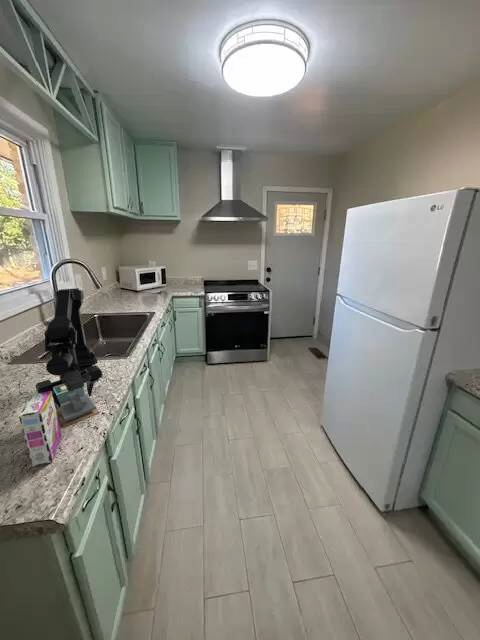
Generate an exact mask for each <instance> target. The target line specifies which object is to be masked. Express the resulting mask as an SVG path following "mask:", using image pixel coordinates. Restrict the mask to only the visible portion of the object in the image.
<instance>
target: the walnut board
mask: <svg viewBox="0 0 480 640" xmlns="http://www.w3.org/2000/svg"><path fill="white" fill-rule="evenodd" d="M89 399H90V400H91V398H90V397H89ZM92 403H93V404H94V402H93V401H92ZM95 407H96V409H94V410H92V411H91V412H89V413H87V414H84V415H82V416H79V417H77V418H74V419H72V420H70V421H69V420H67V421H65V420H64V418H63V416H62V414H61V412H60V410H59V409H58V408H57V409H56V413H57V417H58V420H59V422H60V423H61V425H62V427H63V428H66V427H70V426H72V425H74V424H77V423H78V422H81V421H84V420H86V419H89V418H90V417H93V416H96V415H99V414H100V413H101V412H100V411H99V408H97V406H96V405H95Z"/></svg>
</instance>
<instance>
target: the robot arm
mask: <svg viewBox="0 0 480 640" xmlns="http://www.w3.org/2000/svg"><path fill="white" fill-rule="evenodd" d="M54 293H55V299H56V300H55V301H56V304H55V309H54V316H53V317H54V318H53V319H52V320H50V321H49V322H48V324H47V326H46V327H47V328H46V329H45V330H44V352H45V353H46V352H47V353H48V352H51V356H50V358H49V359H48V361H47V363H46V366H45V368H46V371H47V373H49V374H50V375H52V376H59V379H58V380H56V381H55V380H54V381H53V382H52V381H51V379H47V380H46V379H45V380H43V381H39V382H37V383H36V384H35V390H36V393H42V392H48V391H52V395H53V399H54V401H55V402H54V404H55V403H56V404H57V405H58V406H59V408H61V405H60V402H59V400H58V398H57V395H56V393H55V391H54V389H53V388H56V387H59V386H62V385H66V388H67V390H68V391H73V390H75V389H78V388H82V387H83V388H84V387H85V385H86V389H87V396H88V397H89V398H90V397H92V392H93V389H94V386H95V385H94V384H95V383H96V382H97V381H99V379H100V378H103V377H104V375H103V371H102V369H101V368H100V367H99V366H97V364H98V363H99V362H98V358H97V355H96V353H95V352H94V351H93V349H92V346H91V345H90V344H89V343H87V341H86V335H85V329H84V324H83V318H82V313H81V308H82V306H83V304H84V299H85V295H84V291H83V290H82V289H81V290H80V287H79V288H78V287H77V288H62V289H57V290H56V291H55V292H54ZM85 383H86V384H85ZM56 404H55V405H56ZM57 405H56V406H57Z"/></svg>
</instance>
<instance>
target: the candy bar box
mask: <svg viewBox="0 0 480 640" xmlns="http://www.w3.org/2000/svg"><path fill="white" fill-rule="evenodd" d="M56 410H57V409H56V404H55V402H54V399H53V395H52V391H48V392H42V393H37V392H36V393H33V394H32V395H31V397H30V398H29V399H28V401H27V402H26V404H25V405H24V407H23V409H22V410H21V411H20V413H19V414H18V419H19V422H20V426H21V429H22V433H23V436H24V441H25V445H26V448H27V451H28V455H29V460H30V463H31V467H32V468H33V467H34V468H35V467H38V466H43V465H47V464H51V463H52V462H53V461H54V458H55V455H56V453H57V450H58V447H59V445H60V441H61V439H62V432H61V428H60V423H59V422H60V421H59V417H58V415H57V413H56Z"/></svg>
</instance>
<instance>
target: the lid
mask: <svg viewBox="0 0 480 640" xmlns="http://www.w3.org/2000/svg"><path fill="white" fill-rule="evenodd" d="M68 397H69V401H68V402H65V403H62V404H60V405H61V408H59V406H58V405H56V407H57V406H58V407H57V409H59V410H60V412H61V414H62V416H63V418H64V420H65V421H67V420H69V421H70V420H72V419H74V418H77V417H79V416H82V415H84V414H87V413H89V412H91V411H92V410H94V409H96V408H97V406H96V405H95V404H94V402H93V401H92V399H91V398H90V397H89V395H88V394H85V395H84V396H82V397H79V396H78V395H77V393H76V392H74V393H72V394H69V395H68ZM89 398H90V399H89ZM92 402H93V403H92ZM95 406H96V407H95Z"/></svg>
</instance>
